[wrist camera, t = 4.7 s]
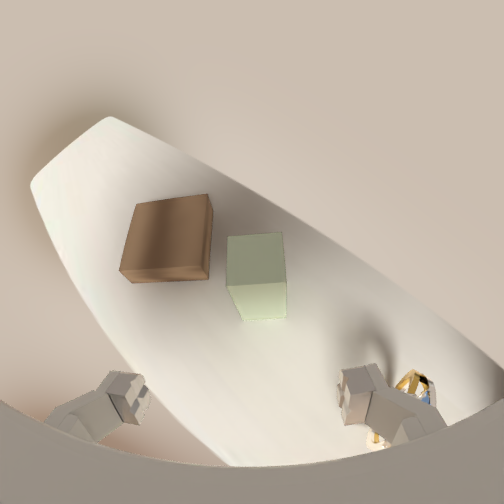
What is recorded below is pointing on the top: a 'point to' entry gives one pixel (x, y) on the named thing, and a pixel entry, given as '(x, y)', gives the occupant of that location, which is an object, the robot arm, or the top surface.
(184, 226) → the plinth
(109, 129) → the top surface
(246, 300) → the block
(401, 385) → the ring
